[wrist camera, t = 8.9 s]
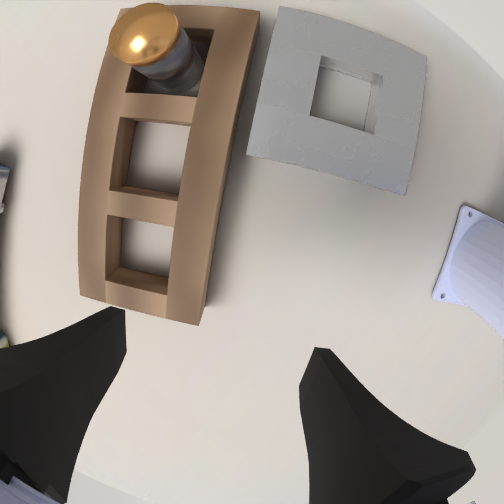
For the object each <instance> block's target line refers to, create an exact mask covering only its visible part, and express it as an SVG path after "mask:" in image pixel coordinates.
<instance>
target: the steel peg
mask: <svg viewBox="0 0 504 504" xmlns="http://www.w3.org/2000/svg"><path fill="white" fill-rule="evenodd" d="M109 47H110V50H111V52H112V54H113V55H114V56H115V57H117V58H118V59H120V60H121V61H123V62H125V63H126V64H128V65H129V66H131V67H132V68H134V69H135V70H137V71H139V72H140V73H142V74H143V75H145V76H146V77H148V78H149V79H151V80H152V81H153V82H155V83H156V84H158V85H159V86H161V87H162V88H164V89H165V90H167V91H170V92H182V91H185V90H188V89H190V88H191V87H193V86H194V85H195V84H196V83H197V82H198V81H199V80H200V78H201V76H202V74H203V69H204V66H203V61H202V59H201V57H200V56H199V54H198V52H197V50H196V49H195V47H194V45H193V44H192V42H191V40H190V39H189V37H188V36H187V34H186V32H185V31H184V29H183V27H182V26H181V24H180V23H179V21H178V19H177V18H176V16H175V15H174V13H173V12H172V10H171V9H170V8H169V7H167V6H166V5H163V4H160V3H145V4H141V5H138V6H136V7H134V8H132V9H130V10H129V11H127V12H126V13H125V14H123V15H122V16H121V17H120V18H119V19H118V20H117V22H116V23H115V24H114V26H113V28H112V30H111V32H110V36H109Z"/></svg>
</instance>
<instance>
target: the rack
mask: <svg viewBox="0 0 504 504" xmlns="http://www.w3.org/2000/svg"><path fill="white" fill-rule="evenodd" d="M166 6H167V7H169V8H170V9H171V10H172V12H173V13H174V15H175V16H176V18H177V19H178V21H179V23H180V24H181V26H182V27H183V29H184V31H185V32H186V34H187V36H188V37H189V39H190V40H191V42H201V43H211V44H210V48H209V52H208V55H207V59H206V63H205V67H204V71H203V75H202V79H201V83H200V87H199V91H198V96H197V97H187V96H177V95H164V94H146V93H142V91H143V87H144V83H145V79H146V76H145V75H143V74H142V73H140V72H139V71H137V70H135V69H134V68H132V67H131V66H129V65H128V64H126V63H125V62H123V61H121V60H120V59H118V58H117V57H115V56H114V55H113V54H112V52H111V50H110V47H109V43H108V46H107V49H106V52H105V56H104V59H103V62H102V66H101V70H100V73H99V77H98V81H97V85H96V89H95V94H94V98H93V103H92V107H91V112H90V118H89V123H88V129H87V135H86V141H85V148H84V156H83V164H82V173H81V184H80V197H79V217H78V267H79V287H80V295H81V296H85V297H88V298H91V299H95V300H98V301H101V302H105V303H108V304H112V305H115V306H119V307H123V308H126V309H130V310H134V311H137V312H141V313H145V314H149V315H153V316H157V317H161V318H166V319H170V320H174V321H179V322H183V323H187V324H192V325H197V326H199V323H200V320H201V317H202V314H203V311H204V307H205V301H206V294H207V287H208V281H209V274H210V268H211V262H212V256H213V250H214V244H215V238H216V232H217V226H218V220H219V215H220V209H221V203H222V198H223V193H224V187H225V182H226V177H227V172H228V166H229V161H230V156H231V151H232V146H233V141H234V137H235V132H236V127H237V122H238V118H239V113H240V108H241V104H242V99H243V95H244V90H245V86H246V81H247V77H248V73H249V69H250V64H251V60H252V56H253V52H254V48H255V44H256V40H257V36H258V32H259V28H260V11H255V10H247V9H239V8H229V7H217V6H196V5H166ZM130 9H132V8H124V9H121V10H120V12H119V15H118V17H117V20H118V19H119V18H120V17H121V16H122V15H123V14H125V13H126V12H127V11H129V10H130ZM117 20H116V22H117ZM136 121H145V122H157V123H167V124H176V125H185V126H191V128H190V133H189V138H188V144H187V149H186V154H185V160H184V166H183V171H182V177H181V184H180V190H179V194H174V193H168V192H162V191H156V190H149V189H143V188H136V187H130V186H126V181H127V173H128V166H129V159H130V153H131V146H132V140H133V135H134V129H135V124H136ZM123 218H129V219H134V220H139V221H145V222H150V223H155V224H161V225H166V226H171V227H174V233H173V241H172V250H171V259H170V269H169V278H166V277H161V276H157V275H153V274H148V273H144V272H139V271H135V270H131V269H127V268H122V267H120V258H121V237H122V222H123Z"/></svg>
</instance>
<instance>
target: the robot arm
mask: <svg viewBox="0 0 504 504" xmlns="http://www.w3.org/2000/svg"><path fill="white" fill-rule="evenodd" d="M469 212H470V215H469V216H468V214H469ZM441 294H443V295H442V296H441ZM432 297H433V298H434V299H435V300H437V301H443V302H449V303H455V304H461V305H467V306H468V307H469V308H470V309H471V310H473V311H474V312H475V313H476V314H477V315H478V316H479V317H481V318H482V319H483V320H484V321H485V322H486V323H487V324H488V325H489V326H490V327H491V328H493V329H494V330H495V331H496V332H497V333H498V334H499V335H500V336H501V337H502V338H503V339H504V223H502V222H500V221H498V220H496V219H494V218H492V217H490V216H488V215H486V214H483V213H481V212H479V211H477V210H475V209H473V208H471V207H468V206H465V205H464V206H462V207H461V209H460V212H459V216H458V220H457V223H456V227H455V230H454V234H453V237H452V240H451V243H450V247H449V250H448V253H447V256H446V259H445V261H444V264H443V267H442V270H441V273H440V275H439V278H438V280H437V283H436V286H435V288H434V291H433V293H432ZM126 352H127V349H126V327H125V310H123V309H119V308H116V307H112V306H110V307H108V308H106V309H103V310H101V311H99V312H97V313H95V314H93V315H91V316H89V317H87V318H85V319H83V320H81V321H79V322H77V323H75V324H73V325H71V326H69V327H66V328H64V329H62V330H59V331H57V332H55V333H52V334H50V335H47V336H45V337H42V338H39V339H36V340H33V341H30V342H26V343H23V344H18V345H14V346H9V347H4V348H0V504H64V503H67V497H68V491H69V487H70V482H71V477H72V473H73V470H74V466H75V463H76V459H77V456H78V453H79V450H80V447H81V444H82V441H83V438H84V436H85V433H86V430H87V428H88V425H89V423H90V420H91V418H92V416H93V414H94V412H95V411H96V409H97V407H98V405H99V404H100V402H101V400H102V399H103V397H104V395H105V393H106V392H107V390H108V388H109V387H110V385H111V383H112V382H113V380H114V378H115V376H116V375H117V373H118V371H119V369H120V366H121V364H122V362H123V359H124V357H125V354H126ZM299 399H300V411H301V417H302V423H303V429H304V435H305V440H306V446H307V452H308V460H309V482H310V488H309V504H449V503H448V500H447V498H448V497H449V496H451V495H452V494H453V493H455V492H456V491H457V490H458V489H460V488H461V487H462V486H463V485H465V484H466V483H467V482H468V481H469V480H470V479H471V478H472V477H473V475H474V473H475V471H476V468H475V466H474V464H473V462H472V460H471V458H470V456H469V454H468V452H467V451H464V450H461V449H458V448H456V447H453V446H450V445H448V444H445V443H443V442H440V441H438V440H436V439H434V438H432V437H430V436H428V435H426V434H425V433H423V432H421V431H419V430H418V429H416V428H414V427H413V426H411V425H410V424H408V423H407V422H405V421H404V420H402V419H401V418H399V417H398V416H397V415H395V414H394V413H393V412H392V411H390V410H389V409H388V408H387V407H385V406H384V405H383V404H382V403H381V402H380V401H379V400H378V399H376V398H375V397H374V396H373V395H372V394H371V393H370V392H369V391H368V390H367V389H366V388H365V387H364V386H363V385H362V384H361V383H360V382H359V381H358V379H357V378H356V377H355V376H354V375H353V374H352V373H351V372H350V371H349V370H348V368H347V367H346V366H345V365H344V364H343V363H342V362H341V360H340V359H339V358H338V357H337V356H336V355H335V354H334V353H333V352H332V351H331V350H330V349H326V348H318V347H315V348H314V350H313V353H312V355H311V358H310V360H309V363H308V365H307V368H306V370H305V373H304V375H303V377H302V380H301V382H300V385H299ZM468 504H476V503H475V501H473V502H470V503H468Z"/></svg>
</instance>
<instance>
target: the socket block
mask: <svg viewBox="0 0 504 504" xmlns="http://www.w3.org/2000/svg"><path fill="white" fill-rule="evenodd" d="M426 62H427V57H426V56H424V55H422V54H420V53H418V52H416V51H414V50H412V49H410V48H408V47H406V46H404V45H401V44H399V43H397V42H395V41H393V40H390V39H388V38H385V37H383V36H381V35H378V34H376V33H373V32H370V31H368V30H365V29H362V28H360V27H357V26H354V25H351V24H348V23H345V22H342V21H339V20H335V19H332V18H329V17H325V16H321V15H318V14H314V13H310V12H306V11H302V10H297V9H292V8H288V7H283V6H279V9H278V13H277V18H276V22H275V26H274V30H273V34H272V38H271V43H270V47H269V51H268V55H267V60H266V64H265V68H264V73H263V77H262V82H261V86H260V91H259V95H258V100H257V104H256V109H255V114H254V118H253V123H252V128H251V132H250V137H249V142H248V147H247V152H246V155H250V156H255V157H260V158H265V159H270V160H274V161H279V162H284V163H288V164H292V165H297V166H301V167H305V168H309V169H313V170H317V171H321V172H325V173H329V174H333V175H336V176H340V177H344V178H347V179H351V180H354V181H358V182H361V183H365V184H368V185H371V186H375V187H378V188H381V189H384V190H387V191H390V192H394V193H397V194H400V195H403V196H405V194H406V190H407V186H408V182H409V177H410V173H411V168H412V163H413V158H414V153H415V148H416V143H417V137H418V131H419V125H420V118H421V111H422V104H423V95H424V86H425V75H426ZM319 66H321V67H324V68H328V69H331V70H334V71H338V72H341V73H344V74H347V75H350V76H353V77H356V78H359V79H362V80H365V81H367V82H370V83H372V86H371V92H370V98H369V104H368V110H367V116H366V121H365V126H364V131H361V130H358V129H355V128H351V127H348V126H345V125H342V124H338V123H335V122H332V121H328V120H325V119H321V118H317V117H313V116H310V110H311V105H312V100H313V95H314V90H315V85H316V80H317V75H318V70H319Z"/></svg>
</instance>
